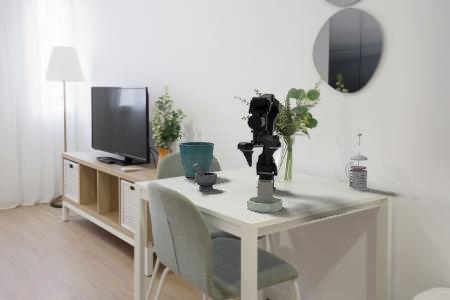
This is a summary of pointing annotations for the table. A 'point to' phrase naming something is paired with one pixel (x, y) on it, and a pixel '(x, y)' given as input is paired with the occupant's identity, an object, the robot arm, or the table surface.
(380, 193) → the table surface
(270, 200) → the tumbler
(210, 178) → the mortar and pestle
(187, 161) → the flower pot
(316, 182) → the table surface
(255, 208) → the dish
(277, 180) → the table surface
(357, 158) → the french press
